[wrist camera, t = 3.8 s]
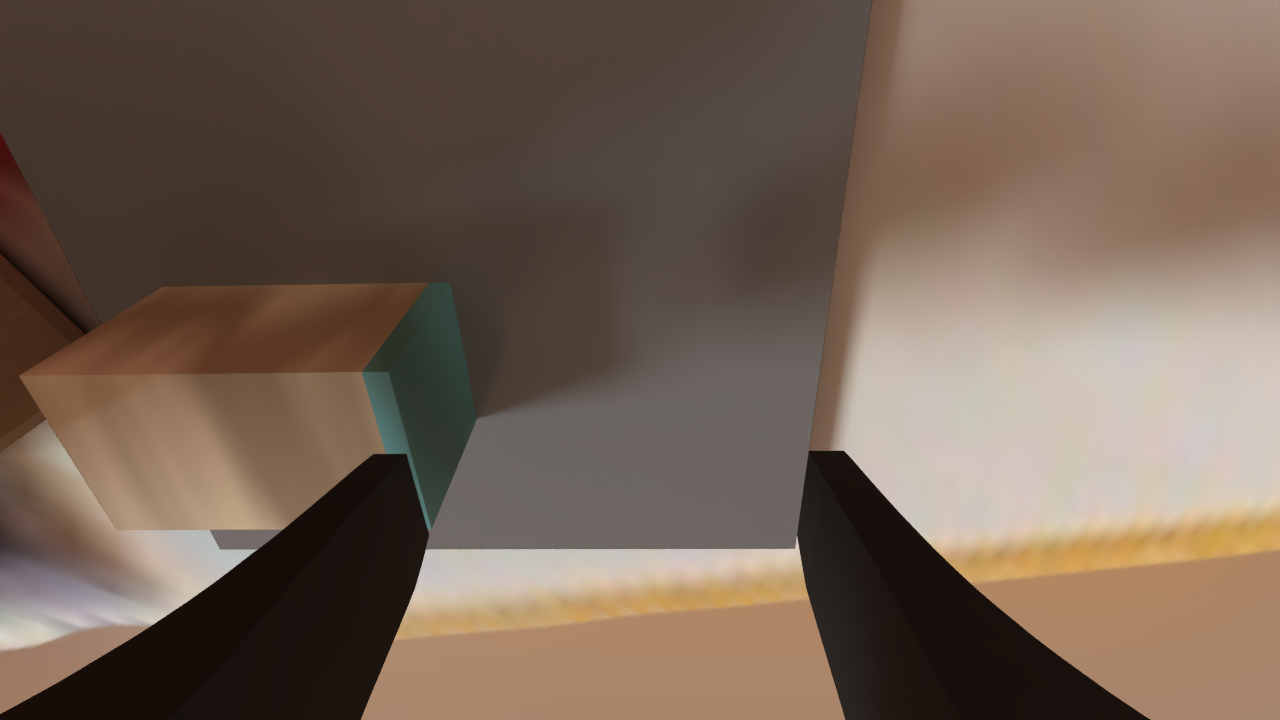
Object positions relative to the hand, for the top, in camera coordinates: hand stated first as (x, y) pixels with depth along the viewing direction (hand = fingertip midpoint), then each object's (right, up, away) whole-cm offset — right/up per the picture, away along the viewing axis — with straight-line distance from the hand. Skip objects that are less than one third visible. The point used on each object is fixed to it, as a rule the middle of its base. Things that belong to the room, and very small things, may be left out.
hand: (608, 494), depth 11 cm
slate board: (-4, +4, +5) cm, 7 cm away
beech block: (-4, +2, +3) cm, 5 cm away
